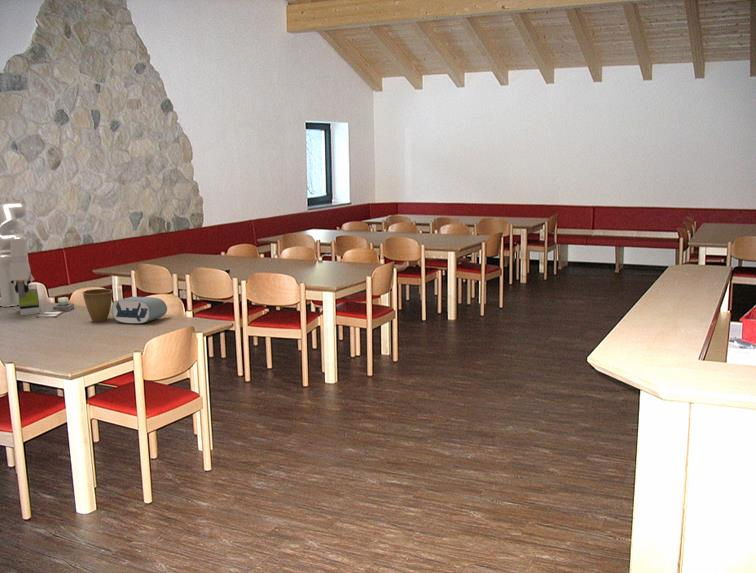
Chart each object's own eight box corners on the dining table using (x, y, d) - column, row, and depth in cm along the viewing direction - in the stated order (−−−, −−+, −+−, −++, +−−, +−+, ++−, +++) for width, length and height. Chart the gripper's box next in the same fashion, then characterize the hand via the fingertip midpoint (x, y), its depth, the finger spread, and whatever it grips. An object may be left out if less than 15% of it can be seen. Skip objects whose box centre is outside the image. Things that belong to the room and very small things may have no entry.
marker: (20, 296, 418) (18, 276, 416) (28, 296, 418) (26, 275, 416) (17, 298, 414) (15, 277, 412) (25, 297, 414) (23, 277, 412)
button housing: (58, 308, 440) (57, 303, 440) (74, 308, 441) (73, 303, 441) (53, 311, 432) (52, 306, 431) (69, 311, 432) (68, 306, 432)
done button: (60, 304, 438) (59, 297, 437) (69, 303, 438) (68, 297, 438) (57, 305, 433) (56, 299, 432) (66, 305, 434) (65, 298, 433)
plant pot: (81, 324, 400) (78, 294, 397) (90, 317, 414) (88, 288, 411) (109, 323, 400) (107, 293, 397) (118, 317, 415) (116, 288, 412)
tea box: (20, 310, 437) (17, 285, 434) (39, 309, 441) (36, 283, 438) (20, 315, 423) (17, 289, 421) (40, 313, 428) (37, 287, 425)
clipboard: (44, 312, 430) (44, 310, 430) (64, 312, 431) (64, 309, 430) (35, 318, 416) (35, 315, 416) (56, 317, 417) (56, 314, 417)
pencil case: (112, 323, 399) (111, 299, 398) (132, 317, 418) (131, 294, 416) (150, 325, 394) (148, 300, 392) (168, 318, 412) (167, 295, 411)
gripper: (0, 260, 408) (3, 294, 411) (32, 260, 409) (35, 293, 413) (5, 258, 415) (9, 291, 419) (37, 257, 416) (40, 290, 420)
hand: (22, 292), depth 416 cm, fingers closed on marker, 4 cm apart
